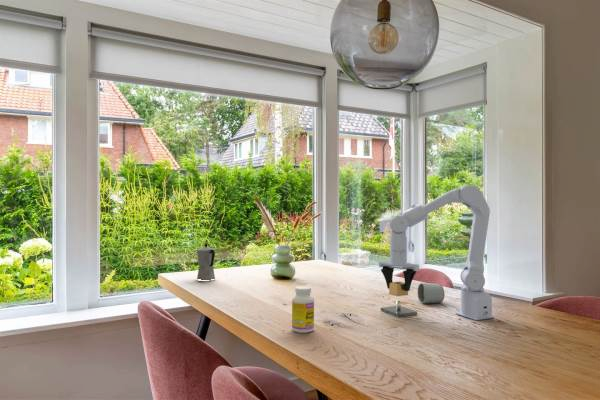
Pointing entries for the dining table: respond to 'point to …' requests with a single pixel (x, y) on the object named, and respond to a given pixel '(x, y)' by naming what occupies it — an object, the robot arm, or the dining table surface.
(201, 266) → the coffeepot
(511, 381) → the dining table surface
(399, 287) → the wooden block with hole
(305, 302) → the supplement bottle
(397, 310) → the flat gray rectangular block
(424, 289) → the ceramic mug
